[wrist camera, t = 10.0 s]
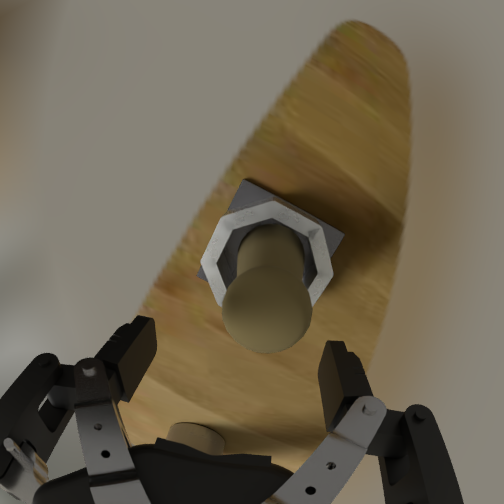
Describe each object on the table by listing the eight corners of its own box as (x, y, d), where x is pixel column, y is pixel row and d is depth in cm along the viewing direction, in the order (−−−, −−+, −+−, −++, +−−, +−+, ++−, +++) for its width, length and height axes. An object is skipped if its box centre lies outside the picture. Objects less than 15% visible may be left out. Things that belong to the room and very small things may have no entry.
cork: (233, 226, 24) (198, 278, 13) (303, 220, 23) (323, 269, 13) (241, 289, 26) (219, 369, 15) (306, 285, 25) (322, 365, 14)
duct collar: (288, 318, 27) (290, 339, 23) (198, 273, 26) (187, 289, 23) (343, 232, 24) (353, 244, 20) (243, 178, 23) (237, 181, 20)
